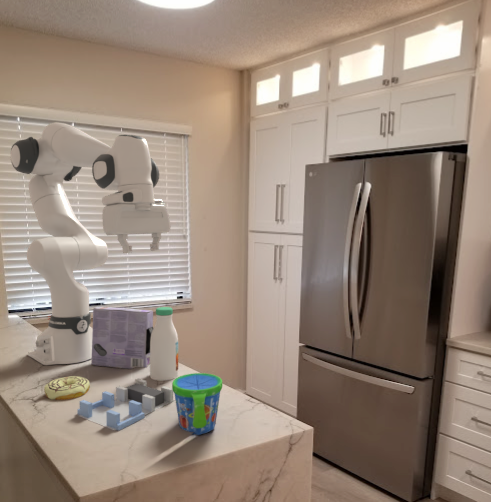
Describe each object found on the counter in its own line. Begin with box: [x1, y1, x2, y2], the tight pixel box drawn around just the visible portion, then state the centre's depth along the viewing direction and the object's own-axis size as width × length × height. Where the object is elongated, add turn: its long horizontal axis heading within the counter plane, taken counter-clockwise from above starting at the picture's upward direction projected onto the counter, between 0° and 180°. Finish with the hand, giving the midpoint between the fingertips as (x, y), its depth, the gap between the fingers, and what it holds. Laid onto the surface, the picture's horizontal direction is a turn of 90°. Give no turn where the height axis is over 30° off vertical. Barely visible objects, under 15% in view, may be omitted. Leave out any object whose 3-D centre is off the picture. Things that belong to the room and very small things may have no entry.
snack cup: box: [171, 372, 223, 436], centre depth 90 cm, size 16×10×10 cm
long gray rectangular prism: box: [125, 383, 164, 407], centre depth 101 cm, size 10×3×3 cm, turn 57°
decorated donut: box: [43, 375, 90, 401], centre depth 106 cm, size 10×11×4 cm
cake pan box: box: [91, 306, 154, 370], centre depth 128 cm, size 19×5×18 cm, turn 77°
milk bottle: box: [149, 306, 179, 382], centre depth 118 cm, size 8×8×20 cm
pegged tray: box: [77, 378, 176, 431], centre depth 97 cm, size 14×18×4 cm
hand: (141, 251), depth 109 cm, fingers open, 8 cm apart
